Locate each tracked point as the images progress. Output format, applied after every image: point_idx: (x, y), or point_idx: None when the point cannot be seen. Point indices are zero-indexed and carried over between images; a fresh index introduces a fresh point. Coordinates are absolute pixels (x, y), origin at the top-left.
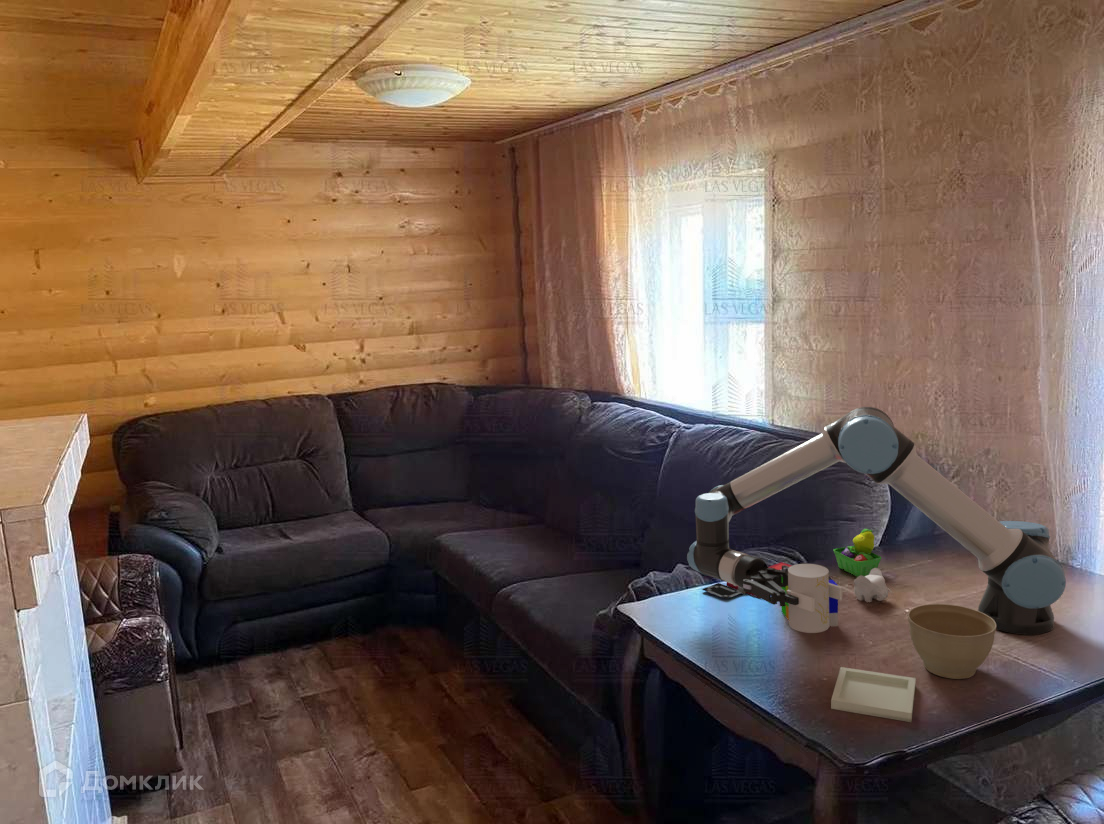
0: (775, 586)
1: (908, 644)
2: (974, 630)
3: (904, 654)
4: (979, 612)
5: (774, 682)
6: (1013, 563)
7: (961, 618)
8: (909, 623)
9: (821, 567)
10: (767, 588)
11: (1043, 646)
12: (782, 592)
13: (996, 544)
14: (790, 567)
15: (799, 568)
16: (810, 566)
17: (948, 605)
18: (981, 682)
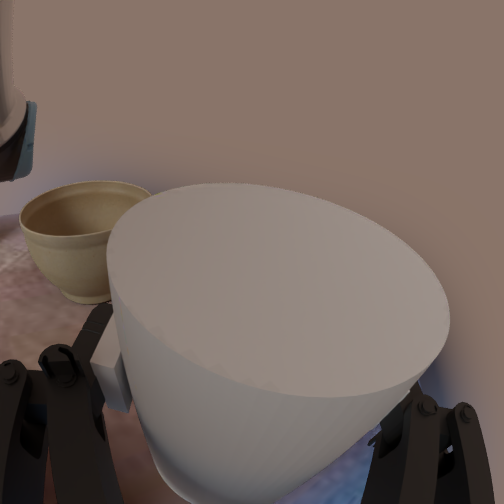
0: (427, 481)
1: (26, 337)
2: (46, 225)
3: (68, 335)
4: (43, 194)
5: (370, 452)
6: (31, 112)
7: (32, 223)
8: (102, 244)
9: (161, 207)
10: (474, 472)
11: (5, 234)
12: (428, 399)
13: (14, 93)
14: (396, 368)
15: (326, 295)
16: (188, 253)
17: (21, 214)
18: None
